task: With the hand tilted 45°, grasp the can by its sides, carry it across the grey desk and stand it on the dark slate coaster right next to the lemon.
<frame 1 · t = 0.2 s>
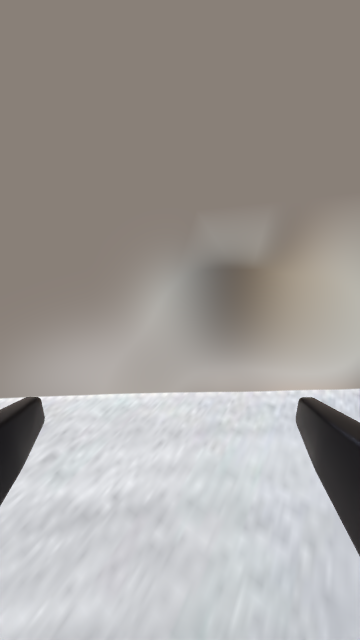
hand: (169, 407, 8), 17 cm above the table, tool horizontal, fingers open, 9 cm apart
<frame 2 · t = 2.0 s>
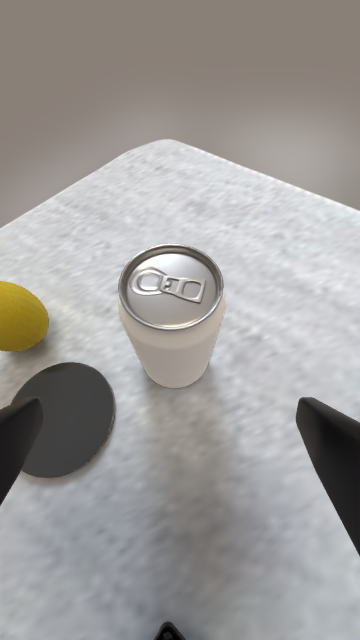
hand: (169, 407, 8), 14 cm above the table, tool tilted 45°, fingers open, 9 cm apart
lemon: (36, 337, 25), on the table
can: (175, 356, 24), on the table
coaster: (62, 414, 21), on the table
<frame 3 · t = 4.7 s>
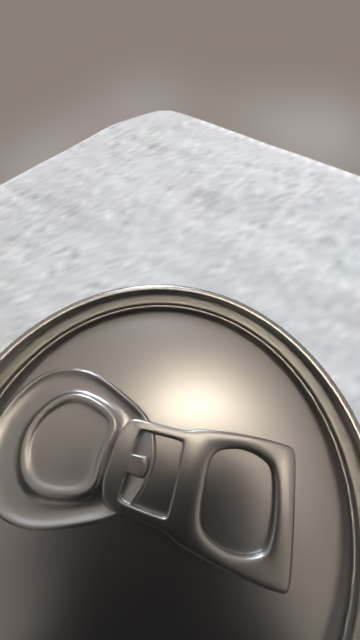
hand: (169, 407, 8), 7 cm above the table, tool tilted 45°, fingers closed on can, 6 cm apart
can: (173, 448, 14), on the table, touching gripper
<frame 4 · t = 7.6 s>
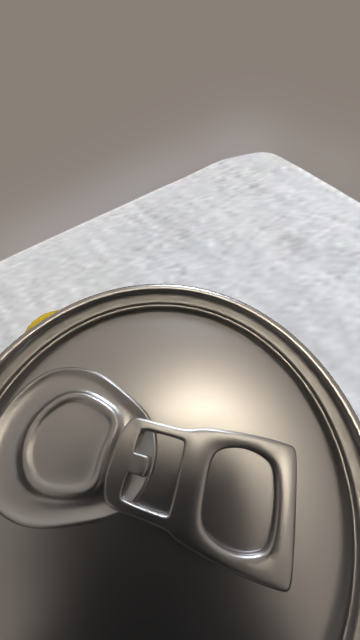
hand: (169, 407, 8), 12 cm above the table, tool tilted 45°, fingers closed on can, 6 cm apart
can: (174, 448, 14), point 6 cm above the table, touching gripper
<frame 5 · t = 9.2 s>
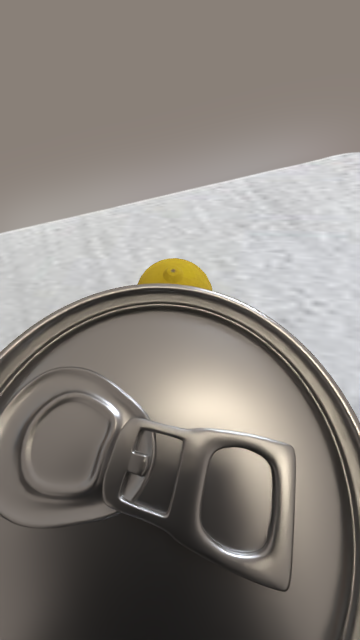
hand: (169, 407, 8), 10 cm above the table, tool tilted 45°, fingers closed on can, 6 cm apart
lemon: (175, 329, 21), on the table
can: (173, 448, 14), point 3 cm above the table, touching gripper
when the fingers open (7 cm above the table, at t = 10.5 s): can stays where it is, resting on coaster.
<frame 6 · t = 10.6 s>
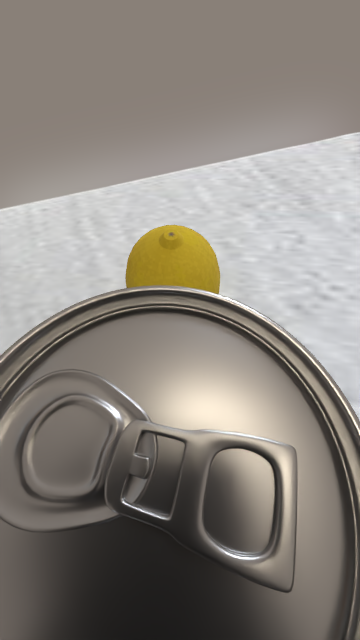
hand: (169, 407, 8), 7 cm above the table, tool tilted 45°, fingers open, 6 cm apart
lemon: (174, 316, 18), on the table
can: (174, 449, 14), resting on coaster
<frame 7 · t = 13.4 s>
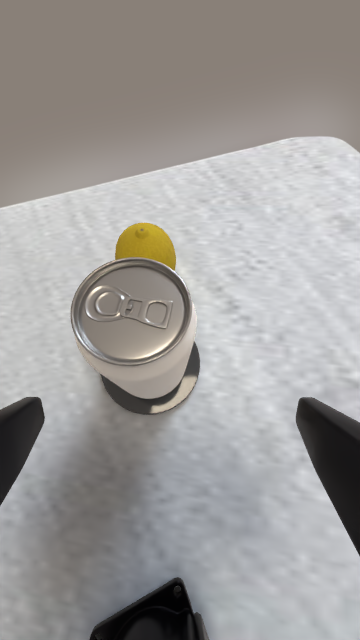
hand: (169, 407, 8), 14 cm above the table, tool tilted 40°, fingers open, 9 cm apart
lemon: (149, 284, 26), on the table
can: (151, 363, 22), resting on coaster
coaster: (151, 362, 23), on the table
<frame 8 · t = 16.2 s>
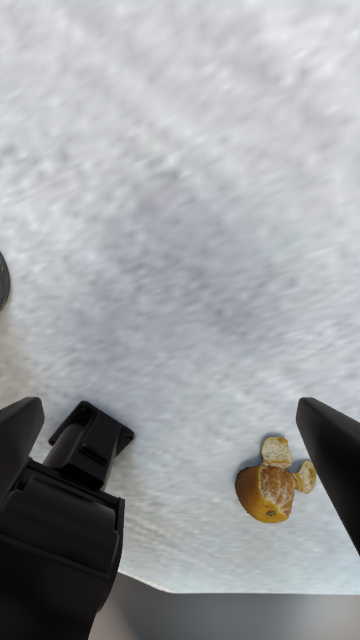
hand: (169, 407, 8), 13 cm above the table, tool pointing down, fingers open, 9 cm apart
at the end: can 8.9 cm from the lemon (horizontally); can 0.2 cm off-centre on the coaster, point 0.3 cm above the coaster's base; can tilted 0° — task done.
